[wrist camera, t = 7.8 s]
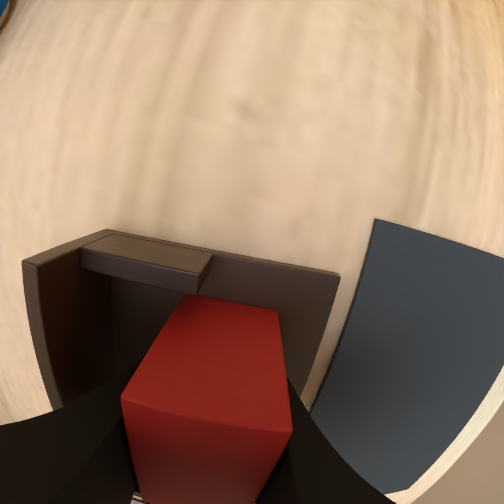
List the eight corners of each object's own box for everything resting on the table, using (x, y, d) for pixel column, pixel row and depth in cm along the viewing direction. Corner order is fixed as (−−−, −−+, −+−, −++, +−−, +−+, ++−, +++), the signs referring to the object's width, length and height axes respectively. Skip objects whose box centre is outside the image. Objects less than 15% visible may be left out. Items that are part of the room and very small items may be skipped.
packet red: (249, 415, 10) (244, 521, 5) (176, 401, 10) (142, 501, 5) (278, 309, 9) (294, 431, 4) (185, 291, 9) (118, 395, 4)
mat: (407, 487, 13) (407, 489, 13) (261, 500, 13) (261, 502, 12) (538, 271, 9) (540, 272, 8) (374, 218, 8) (377, 219, 8)
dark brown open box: (255, 488, 12) (252, 585, 5) (117, 457, 12) (80, 543, 5) (338, 272, 9) (469, 448, 2) (93, 226, 9) (-85, 297, 2)
